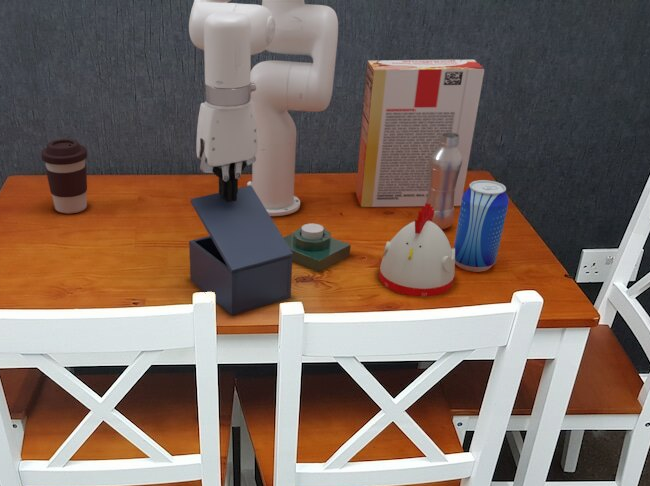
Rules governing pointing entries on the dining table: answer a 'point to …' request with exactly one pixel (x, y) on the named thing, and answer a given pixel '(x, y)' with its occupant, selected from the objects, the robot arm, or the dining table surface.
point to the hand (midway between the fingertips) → (228, 198)
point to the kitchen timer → (419, 259)
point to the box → (238, 279)
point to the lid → (241, 229)
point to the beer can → (480, 225)
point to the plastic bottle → (444, 179)
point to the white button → (312, 231)
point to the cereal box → (413, 126)
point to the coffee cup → (66, 174)
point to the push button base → (316, 250)
